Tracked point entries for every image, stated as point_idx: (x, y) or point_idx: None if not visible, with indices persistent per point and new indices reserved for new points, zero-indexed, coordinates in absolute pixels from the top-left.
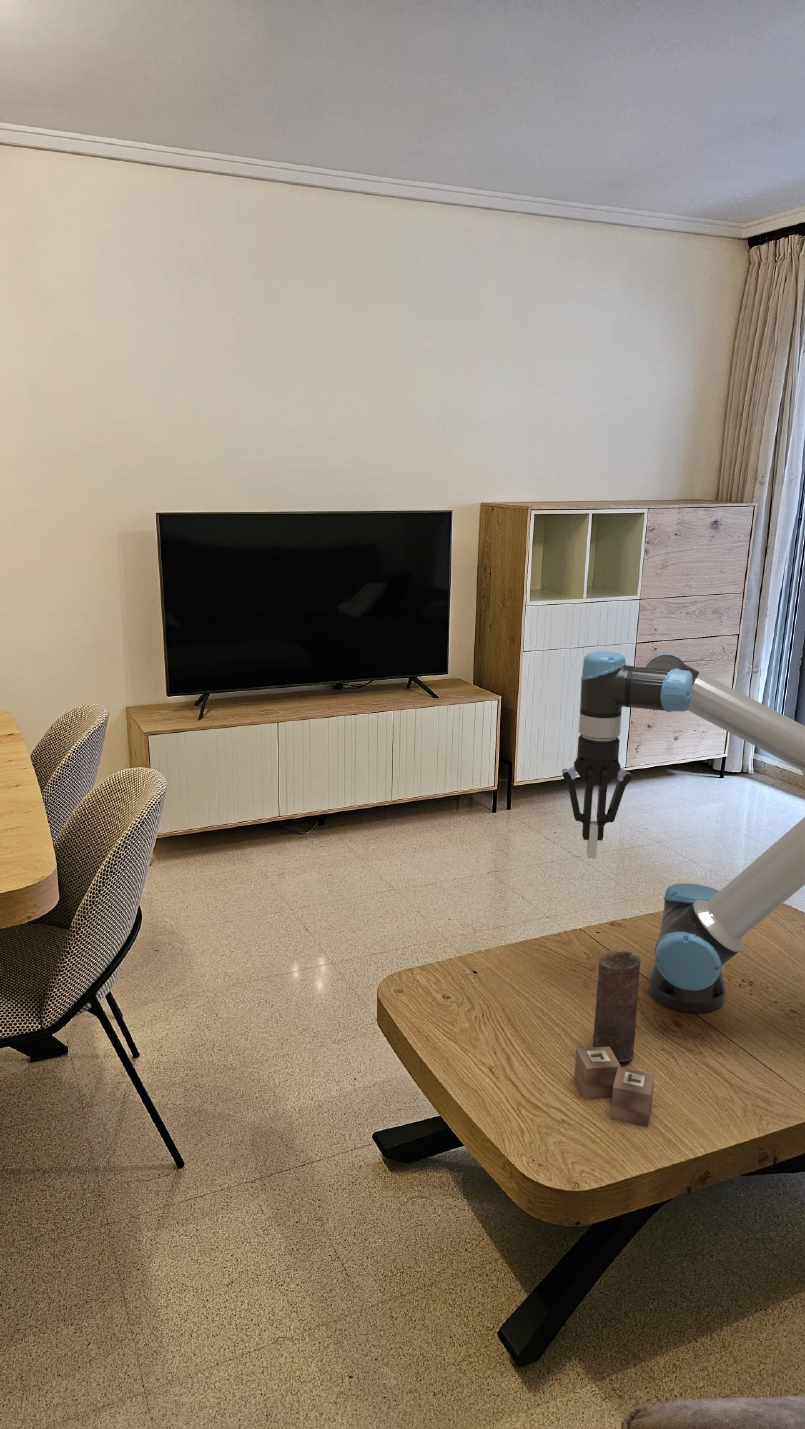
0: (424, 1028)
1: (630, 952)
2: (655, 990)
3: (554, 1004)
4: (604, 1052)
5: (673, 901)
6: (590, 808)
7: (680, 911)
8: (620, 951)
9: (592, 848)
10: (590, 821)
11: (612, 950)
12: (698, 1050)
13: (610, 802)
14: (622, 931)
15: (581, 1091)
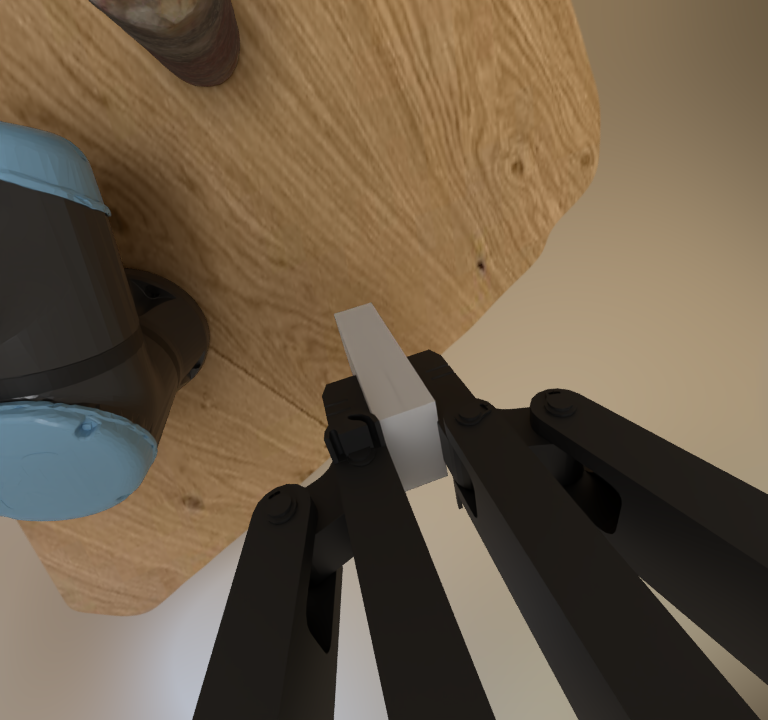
0: (548, 35)
1: (104, 4)
2: (181, 296)
3: (347, 208)
4: None
5: (94, 408)
6: (520, 521)
7: (34, 349)
8: (148, 11)
9: (365, 329)
10: (448, 425)
11: (179, 11)
12: (30, 123)
13: (333, 708)
14: (293, 463)
15: None
